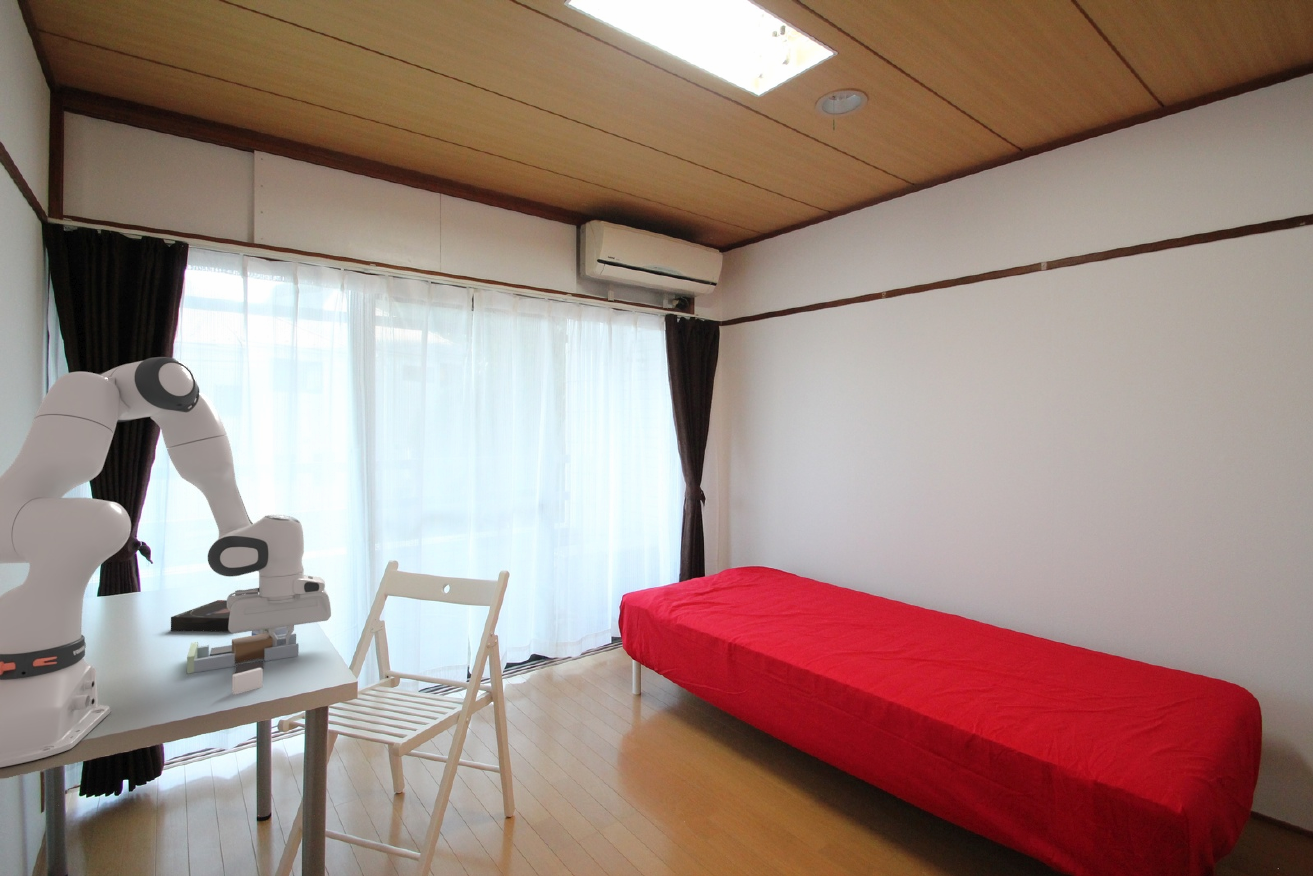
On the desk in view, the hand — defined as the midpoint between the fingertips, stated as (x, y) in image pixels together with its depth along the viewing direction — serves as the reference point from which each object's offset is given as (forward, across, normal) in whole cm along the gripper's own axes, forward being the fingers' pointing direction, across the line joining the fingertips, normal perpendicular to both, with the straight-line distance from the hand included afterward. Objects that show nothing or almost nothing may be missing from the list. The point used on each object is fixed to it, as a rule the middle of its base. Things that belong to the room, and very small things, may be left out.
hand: (281, 645), depth 143 cm
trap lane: (+2, -6, 0) cm, 6 cm away
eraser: (+2, -6, -21) cm, 22 cm away
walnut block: (+2, -6, 0) cm, 6 cm away
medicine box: (+2, -2, +11) cm, 12 cm away
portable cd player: (+2, -11, +34) cm, 36 cm away
